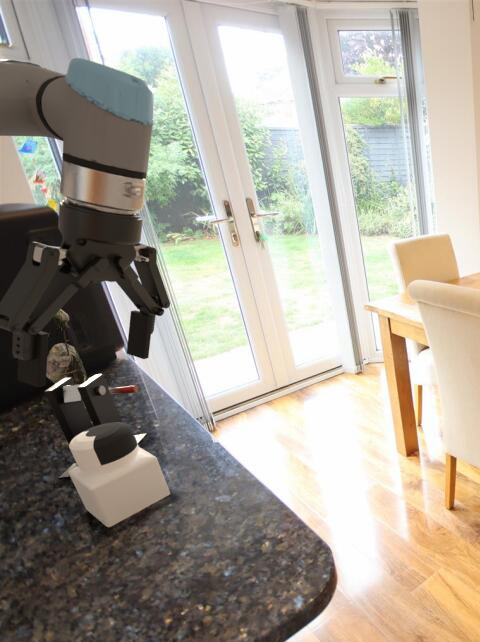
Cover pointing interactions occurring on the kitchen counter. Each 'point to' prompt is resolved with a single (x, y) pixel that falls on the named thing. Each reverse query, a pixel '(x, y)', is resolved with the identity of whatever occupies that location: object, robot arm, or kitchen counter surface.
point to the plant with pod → (64, 357)
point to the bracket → (83, 409)
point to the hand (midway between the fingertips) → (90, 368)
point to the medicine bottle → (115, 473)
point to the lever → (74, 396)
